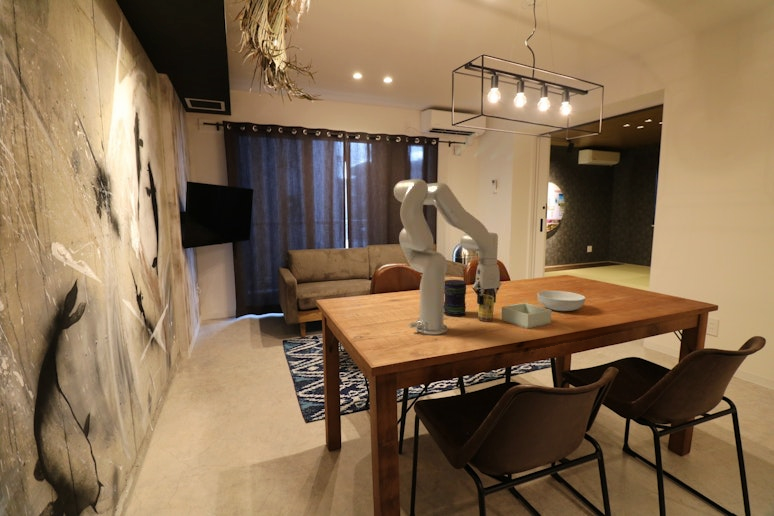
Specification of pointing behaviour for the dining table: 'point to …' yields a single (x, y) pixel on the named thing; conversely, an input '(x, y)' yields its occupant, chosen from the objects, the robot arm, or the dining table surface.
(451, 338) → the dining table surface
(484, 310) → the sauce bottle
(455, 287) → the rusty oil drum
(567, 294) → the serving bowl
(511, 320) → the bin
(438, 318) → the robot arm
